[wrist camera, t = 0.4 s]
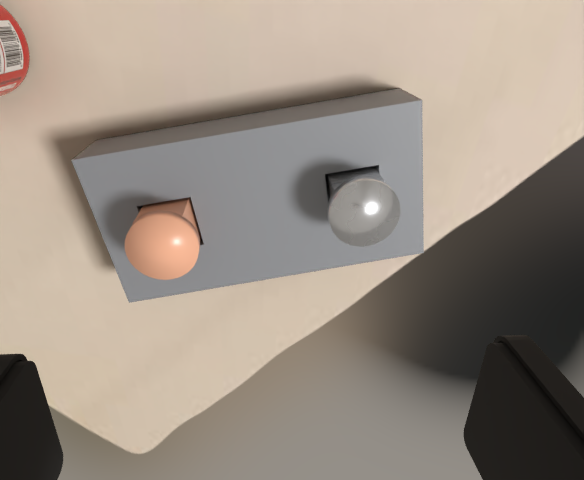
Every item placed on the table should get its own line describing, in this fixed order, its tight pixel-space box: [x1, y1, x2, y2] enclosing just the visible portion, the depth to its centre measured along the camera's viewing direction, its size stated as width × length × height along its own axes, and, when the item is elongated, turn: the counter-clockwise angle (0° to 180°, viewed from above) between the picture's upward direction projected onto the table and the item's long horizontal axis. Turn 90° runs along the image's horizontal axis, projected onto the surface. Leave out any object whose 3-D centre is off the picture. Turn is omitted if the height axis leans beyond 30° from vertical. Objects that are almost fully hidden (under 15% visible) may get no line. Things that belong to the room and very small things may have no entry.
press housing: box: [71, 88, 424, 303], centre depth 40 cm, size 14×28×6 cm, turn 99°
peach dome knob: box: [125, 197, 201, 280], centre depth 37 cm, size 6×6×6 cm
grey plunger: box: [326, 166, 400, 247], centre depth 37 cm, size 6×6×6 cm
